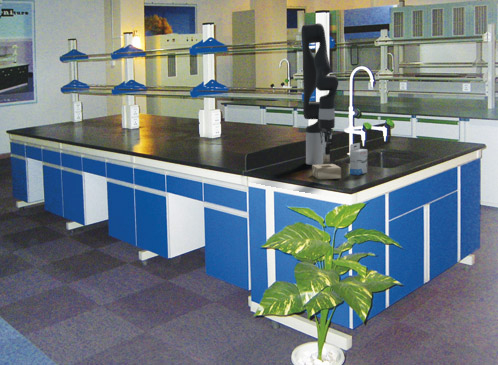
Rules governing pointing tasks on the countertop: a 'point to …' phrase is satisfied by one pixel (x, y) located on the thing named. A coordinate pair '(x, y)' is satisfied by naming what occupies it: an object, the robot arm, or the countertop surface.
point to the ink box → (358, 159)
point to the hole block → (326, 171)
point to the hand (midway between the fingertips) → (326, 153)
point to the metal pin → (325, 157)
